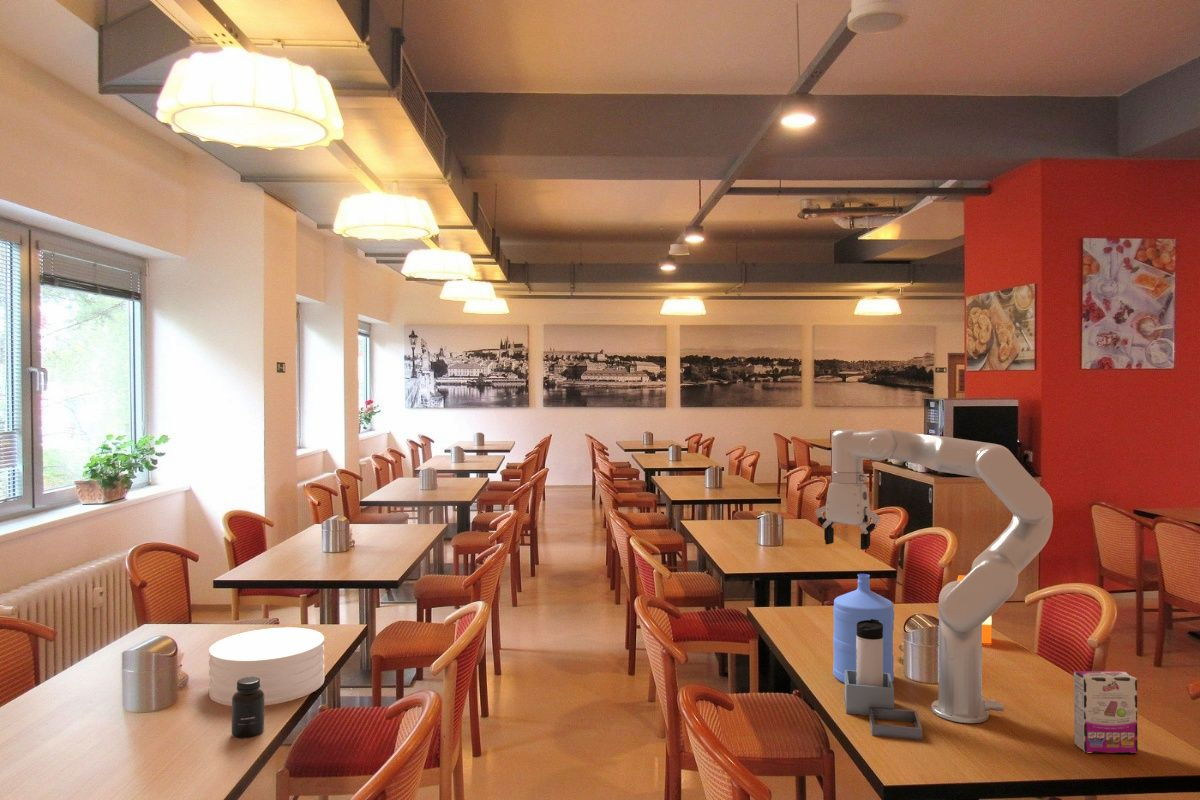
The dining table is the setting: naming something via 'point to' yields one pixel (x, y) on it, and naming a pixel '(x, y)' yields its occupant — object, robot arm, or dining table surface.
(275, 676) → the plate stack
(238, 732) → the supplement bottle
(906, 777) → the dining table surface
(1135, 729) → the candy bar box
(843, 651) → the water jug
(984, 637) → the orange juice
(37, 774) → the dining table surface
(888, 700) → the grey bin
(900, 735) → the metal collar
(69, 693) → the dining table surface
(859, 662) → the travel mug
